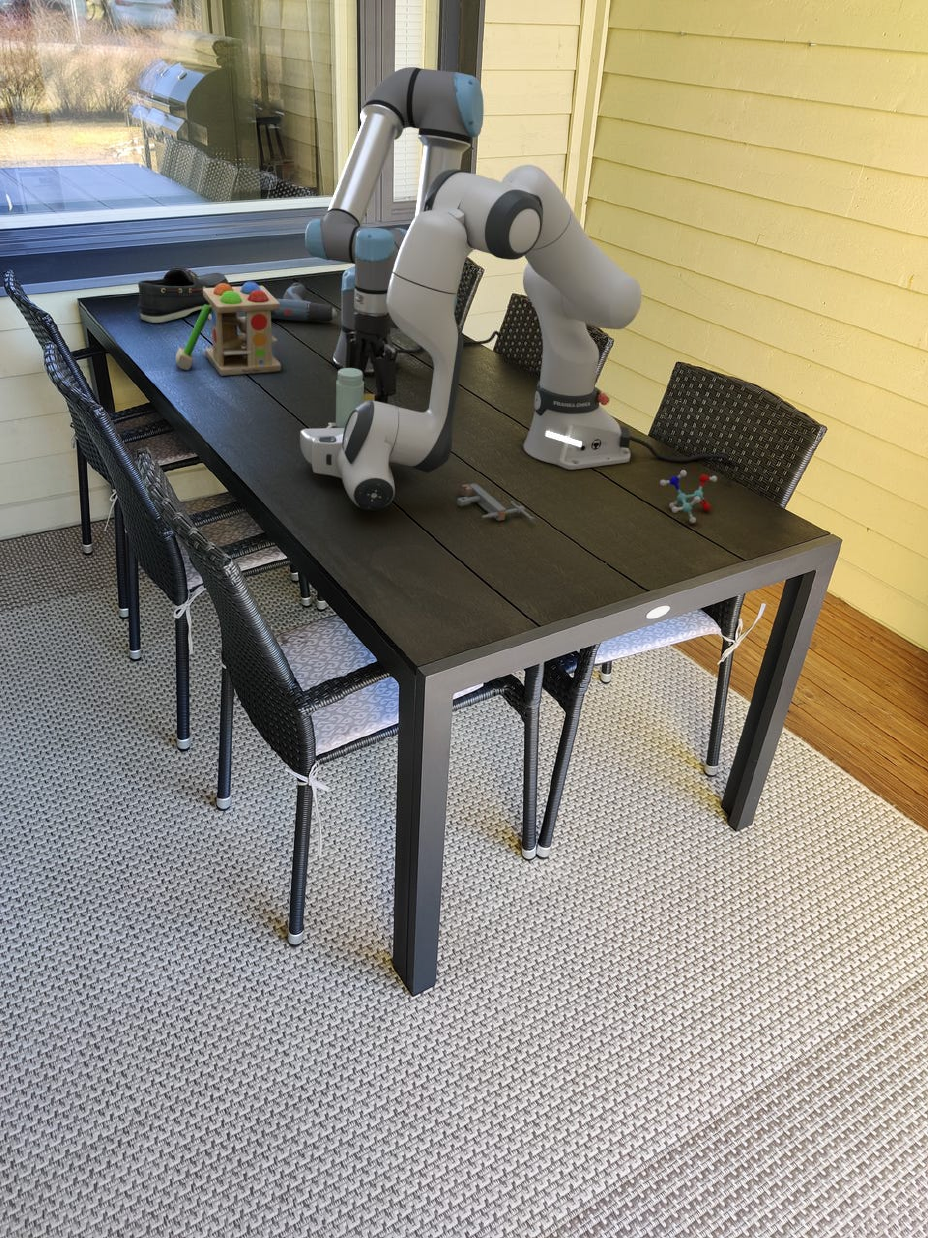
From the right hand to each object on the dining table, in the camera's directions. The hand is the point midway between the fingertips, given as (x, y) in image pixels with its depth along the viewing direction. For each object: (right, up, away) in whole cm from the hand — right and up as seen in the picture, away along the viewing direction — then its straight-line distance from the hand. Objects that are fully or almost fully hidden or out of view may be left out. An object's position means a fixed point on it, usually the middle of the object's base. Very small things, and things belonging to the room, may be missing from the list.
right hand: (348, 425), depth 192 cm
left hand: (+2, +5, +19) cm, 19 cm away
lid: (+3, +9, +16) cm, 19 cm away
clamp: (+28, -18, -12) cm, 35 cm away
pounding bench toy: (-33, +22, +38) cm, 55 cm away
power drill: (-20, +45, +75) cm, 90 cm away
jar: (0, -6, +3) cm, 6 cm away
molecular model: (+64, -18, -5) cm, 67 cm away
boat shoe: (-52, +46, +70) cm, 98 cm away
